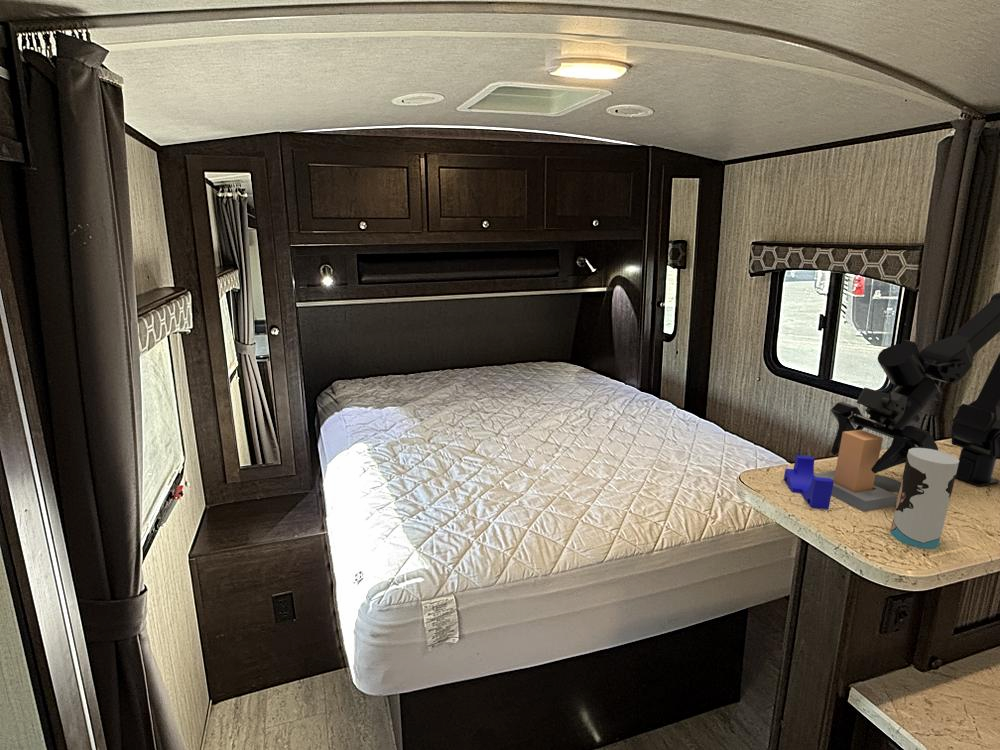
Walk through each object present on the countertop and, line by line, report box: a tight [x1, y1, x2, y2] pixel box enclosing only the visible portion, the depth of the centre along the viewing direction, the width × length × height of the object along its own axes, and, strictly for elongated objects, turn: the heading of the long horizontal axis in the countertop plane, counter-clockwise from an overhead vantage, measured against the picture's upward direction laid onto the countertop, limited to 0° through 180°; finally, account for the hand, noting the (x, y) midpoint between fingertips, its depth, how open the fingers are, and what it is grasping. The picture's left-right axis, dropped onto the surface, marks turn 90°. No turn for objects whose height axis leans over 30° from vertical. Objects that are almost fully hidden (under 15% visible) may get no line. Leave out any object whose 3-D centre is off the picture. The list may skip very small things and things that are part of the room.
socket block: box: [814, 470, 898, 512], centre depth 116 cm, size 8×12×2 cm, turn 20°
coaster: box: [873, 474, 902, 493], centre depth 122 cm, size 8×8×1 cm
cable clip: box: [783, 454, 834, 510], centre depth 115 cm, size 12×4×6 cm, turn 170°
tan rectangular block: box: [833, 429, 884, 493], centre depth 114 cm, size 5×5×12 cm
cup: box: [890, 448, 959, 550], centre depth 99 cm, size 7×7×15 cm
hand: (852, 462), depth 114 cm, fingers open, 8 cm apart
